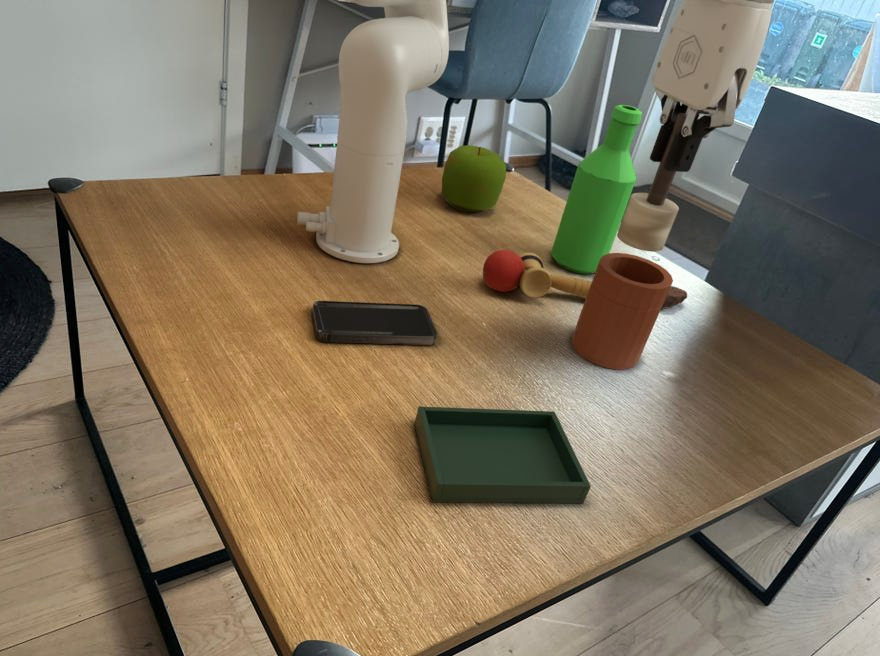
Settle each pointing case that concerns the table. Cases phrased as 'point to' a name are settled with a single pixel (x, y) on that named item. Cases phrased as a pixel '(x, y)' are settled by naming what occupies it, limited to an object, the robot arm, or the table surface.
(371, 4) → the robot arm
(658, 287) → the jar
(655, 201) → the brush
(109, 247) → the table surface
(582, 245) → the bottle
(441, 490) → the tray
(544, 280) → the kendama
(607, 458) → the table surface
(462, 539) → the table surface
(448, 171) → the apple
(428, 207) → the table surface
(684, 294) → the stone
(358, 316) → the phone
